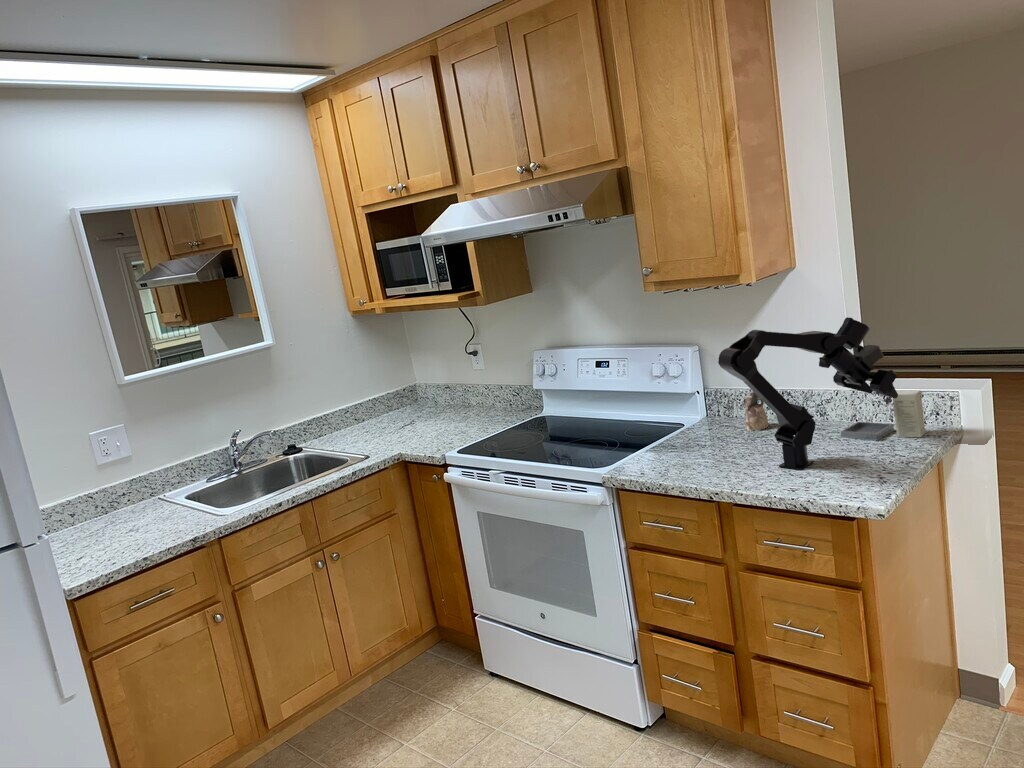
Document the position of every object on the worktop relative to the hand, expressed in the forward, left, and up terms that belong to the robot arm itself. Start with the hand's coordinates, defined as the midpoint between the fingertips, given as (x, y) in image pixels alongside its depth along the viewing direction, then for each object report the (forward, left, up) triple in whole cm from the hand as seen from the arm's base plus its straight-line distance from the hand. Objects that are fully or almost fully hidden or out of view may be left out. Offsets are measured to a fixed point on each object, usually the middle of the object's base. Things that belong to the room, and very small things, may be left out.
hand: (884, 394), depth 206 cm
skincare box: (+7, -3, -13) cm, 15 cm away
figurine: (+2, +42, -13) cm, 44 cm away
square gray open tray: (+5, +8, -13) cm, 16 cm away
